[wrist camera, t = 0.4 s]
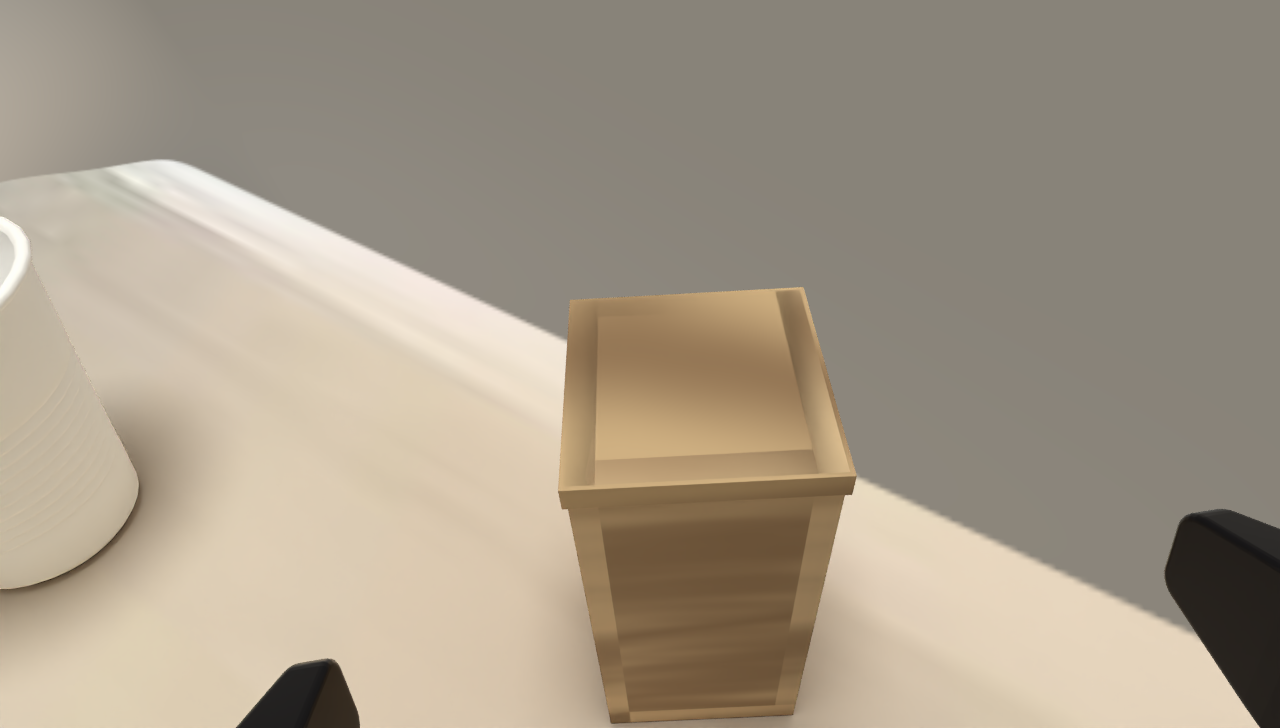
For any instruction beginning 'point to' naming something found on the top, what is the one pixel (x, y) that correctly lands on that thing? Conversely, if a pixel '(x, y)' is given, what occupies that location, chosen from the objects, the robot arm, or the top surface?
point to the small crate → (701, 496)
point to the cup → (50, 436)
